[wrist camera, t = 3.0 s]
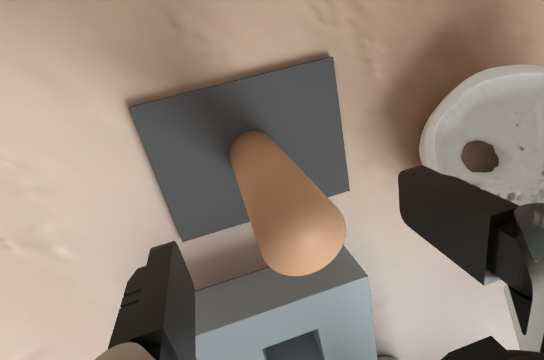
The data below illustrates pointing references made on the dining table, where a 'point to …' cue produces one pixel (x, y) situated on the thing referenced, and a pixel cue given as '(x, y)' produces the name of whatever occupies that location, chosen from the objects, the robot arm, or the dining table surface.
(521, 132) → the skull bowl
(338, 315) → the block
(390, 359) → the travel mug
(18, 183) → the dining table surface
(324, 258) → the peg
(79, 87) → the dining table surface
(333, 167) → the mat
